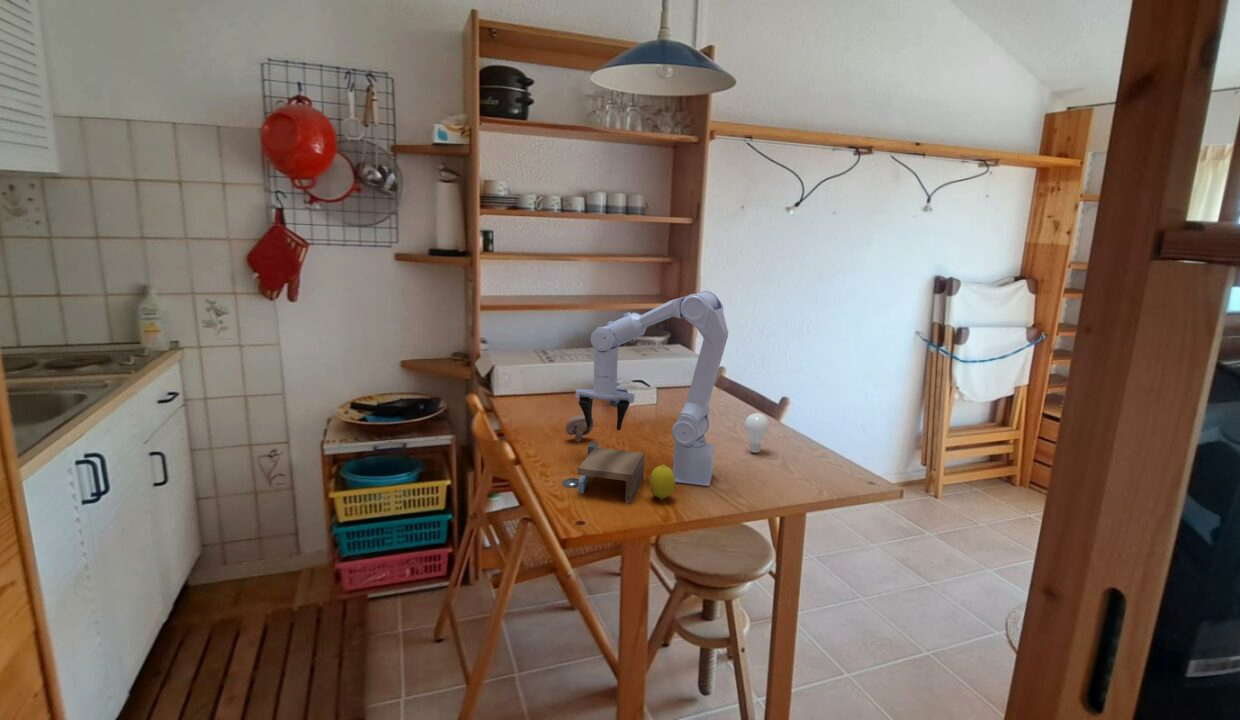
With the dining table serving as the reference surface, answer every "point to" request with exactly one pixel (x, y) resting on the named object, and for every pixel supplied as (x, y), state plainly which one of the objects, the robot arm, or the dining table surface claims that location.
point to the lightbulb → (756, 430)
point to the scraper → (583, 479)
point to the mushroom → (578, 426)
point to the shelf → (615, 467)
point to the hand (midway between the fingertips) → (604, 427)
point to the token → (570, 482)
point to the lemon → (662, 481)
